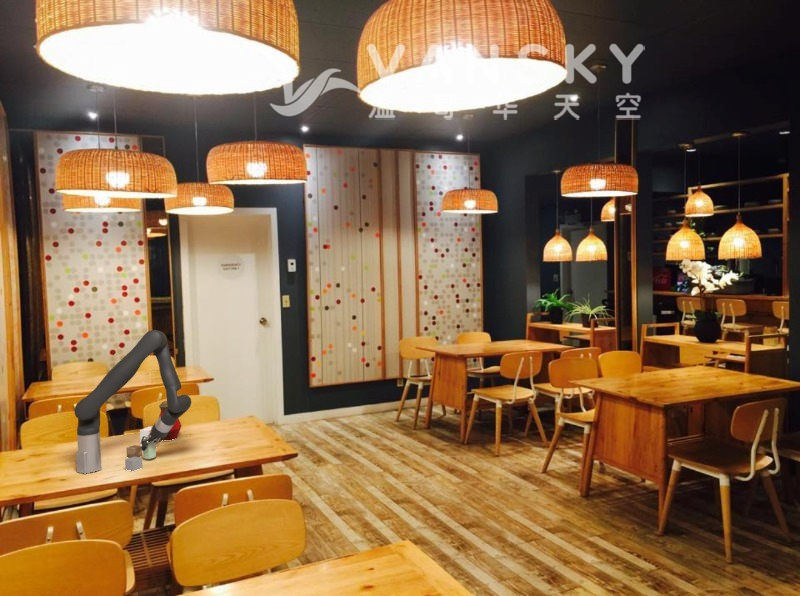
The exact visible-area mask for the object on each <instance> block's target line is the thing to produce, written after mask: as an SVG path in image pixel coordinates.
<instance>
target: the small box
mask: <svg viewBox="0 0 800 596" xmlns="http://www.w3.org/2000/svg"><path fill="white" fill-rule="evenodd" d="M152 427H153V425H151V426H150V425H148V426H146V427H144V428H142V429H139V442H140V444H139V446H142V444H141V440H142V437H143V436H145V437H147V436H148V435H149V434H150V433H151V428H152ZM158 446H159V447H160V442H158V443H157V444H156V447H157V448H159V447H158Z"/></svg>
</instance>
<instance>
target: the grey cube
mask: <svg viewBox="0 0 800 596" xmlns="http://www.w3.org/2000/svg"><path fill="white" fill-rule="evenodd" d="M124 463H125V466H124V467H125V470H126V469H127V470H131V471H130V472H132V471H134V470H137V469H140V468H142V469H143V457H132V458H125V460H124ZM127 470H126V471H127ZM140 470H141V469H140ZM137 471H138V470H137ZM134 472H135V471H134Z"/></svg>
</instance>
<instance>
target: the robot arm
mask: <svg viewBox="0 0 800 596" xmlns="http://www.w3.org/2000/svg"><path fill="white" fill-rule="evenodd" d="M152 353H153V354H154V356H155V357H156V360H157V362H158V368H159V374H160V378H161V381H162V384H163V386H164V389H165V395H166V401H167V405H168V408H167V409H166V410H165V411H164V413H163V414H162V415H161V416H160V417H159V416H158V418H157V420H156V421H155V422H154V424H153V425H152V426H153V427H152V428H151V433H150V434H149V435H148V436H147V437H145V436H143V437H142V440H141V444H142V447H141V449H142V452H143V451H144V450H145V449H146V448H147V447H148V445H149V444H152V443H153V442H156V444H157V443H158V442H159V443H160V442H163V441H162V440H163V439H164V438H165V437H166V436H167V435H168V432H169V431H170V430H171V428H172V427H173V425H174V423H175V422H176V421H177V419H178V418H181V417H182V416H183V415H184V414H185V413H186V412H187V411H188V410H189V409H190V408H191V406H192V399H191V397H190V395H188V394H180V395H178V392H179V391H180V390H181V389H182V383H181V381H180V378H179V375H178V372H177V371H176V368H175V366H174V365H175V364H174V363H173V359H172V357H171V352H170V348H169V343H168V338H167V335H166V334H165V333H164V332H163V331H161V330H156V329H151V330H149V331H147V332H145V333H144V335H143V336H141V338H140V340H139V341H138V342H137V343H136V344H135V345H134V347H133V348H132V349H131V350H130V351H129V352H128V353H127V354H126V355H125V356H124V357H122V358H121V359H120V361H118V362H117V363H116V364H115V365H114V366H113V367H112V368H111V369H110V370H109V371H108V372H107V373H106V374H105V376H103V378H102V380H101V381H100V382H99V383H98V384H97V386H96V387H95V388H94V389H93V390H92V391H91V392H90V393H89V394H87V396H85V397H83V398H82V399H80V401H78V402H77V403H76V405H75V407H74V416H75V417H76V419H77V428H76V433H77V434H76V435H77V451H76V452H75V457H76V458H75V459H76V473H78V472H80V474H83V473H84V475H87V474H91V473H90V472H93V473H96V472H95V471H97V472H99V471H101V470H102V450H101V449H102V448H101V434H100V433H101V431H100V430H101V429H100V427H101V408H102V407H103V406H104V404H105V403H106V402H107V401H108V400H109V399H110V398H112V397H113V396H114V395H115V394H116V393H118V392H119V391H120V390H121V389H122V388H123V387H124V386H125V385H127V383H129V382H130V381H131V380H132V378H133V377H134V376H135V375H136V373H137V372H138V371H139V369H140V367H141V365H142V363H143V362H144V361H145V360H146V359H147V358H149V356H150V355H151V354H152ZM147 442H148V444H147ZM100 469H101V470H100ZM98 470H99V471H98ZM86 473H87V474H86Z"/></svg>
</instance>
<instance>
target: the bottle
mask: <svg viewBox="0 0 800 596" xmlns="http://www.w3.org/2000/svg"><path fill="white" fill-rule="evenodd" d="M158 407H159V410H160V413H159V416H158V418H159V417H160V416H161V415H162V414H163V413H164V411H165V410H166V409H167V408H168V405H167V400H165V401H162V402H161V403H160V404H159V406H158ZM179 418H180V417H179ZM179 418H178V419H177V421H176V422H175V423H174V425H173V427H172V428H171V430H170V431H169V432H168V435H167V436H166V437H165V438H164V439H163V440H171V441H173V440H172V439H174V440H176V439H177V438H178V436H179V432H181V428H182V423H181V421H180V419H179ZM175 438H176V439H175Z"/></svg>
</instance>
